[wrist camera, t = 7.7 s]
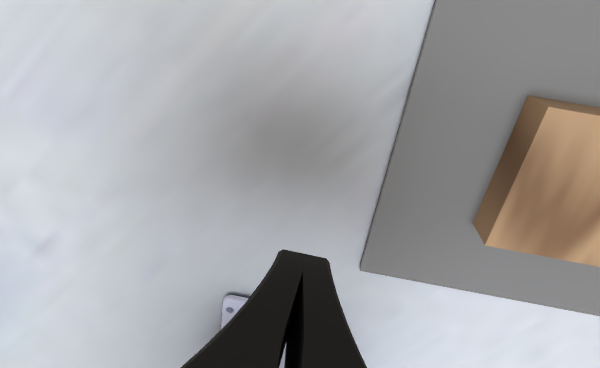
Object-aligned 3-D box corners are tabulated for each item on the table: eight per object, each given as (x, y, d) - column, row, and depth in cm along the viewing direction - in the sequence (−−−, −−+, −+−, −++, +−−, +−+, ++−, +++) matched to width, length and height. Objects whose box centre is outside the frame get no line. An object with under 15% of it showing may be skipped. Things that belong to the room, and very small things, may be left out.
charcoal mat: (661, 323, 23) (666, 328, 22) (359, 266, 23) (360, 270, 23) (893, 38, 15) (905, 39, 15) (445, -37, 16) (447, -38, 15)
